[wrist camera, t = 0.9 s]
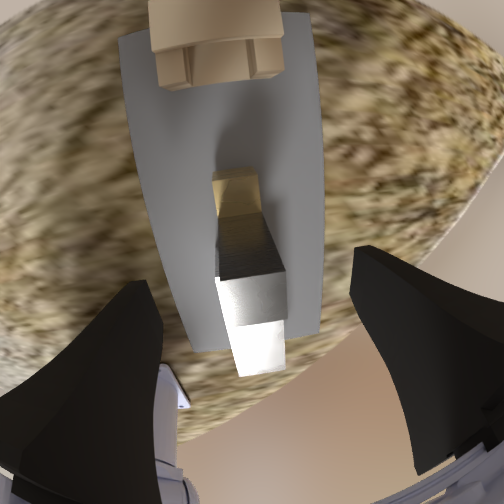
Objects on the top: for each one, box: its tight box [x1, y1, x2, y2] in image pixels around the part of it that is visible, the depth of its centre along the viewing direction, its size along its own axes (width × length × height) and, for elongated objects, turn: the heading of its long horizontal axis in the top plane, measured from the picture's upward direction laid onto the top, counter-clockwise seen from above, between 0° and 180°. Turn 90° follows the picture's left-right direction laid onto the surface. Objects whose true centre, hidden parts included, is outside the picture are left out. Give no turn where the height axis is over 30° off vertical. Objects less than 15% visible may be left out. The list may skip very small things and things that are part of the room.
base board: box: [118, 12, 324, 353], centre depth 15 cm, size 10×22×1 cm, turn 6°
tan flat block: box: [212, 166, 288, 328], centre depth 13 cm, size 2×12×7 cm, turn 6°
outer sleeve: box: [215, 246, 285, 377], centre depth 17 cm, size 3×8×3 cm, turn 6°
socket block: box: [148, 0, 285, 91], centre depth 9 cm, size 5×4×4 cm
